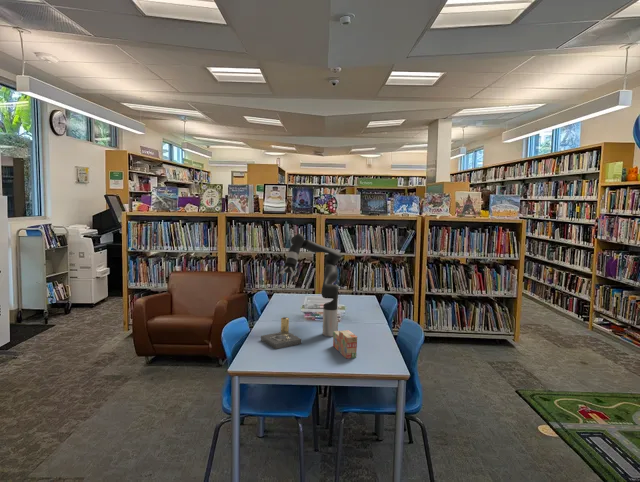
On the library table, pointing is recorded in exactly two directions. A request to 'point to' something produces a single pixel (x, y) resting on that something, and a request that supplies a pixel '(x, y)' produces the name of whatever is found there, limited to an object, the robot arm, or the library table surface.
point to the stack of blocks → (345, 343)
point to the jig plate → (281, 340)
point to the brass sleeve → (284, 324)
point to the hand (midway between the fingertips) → (285, 280)
